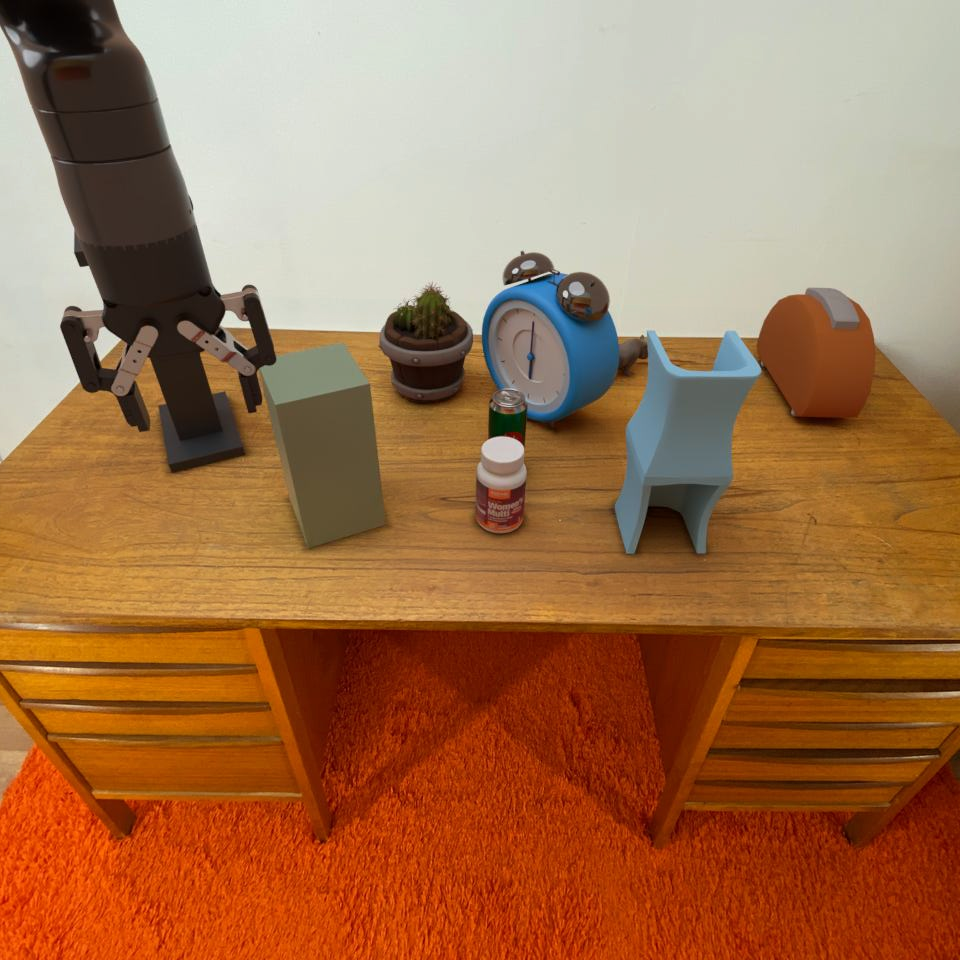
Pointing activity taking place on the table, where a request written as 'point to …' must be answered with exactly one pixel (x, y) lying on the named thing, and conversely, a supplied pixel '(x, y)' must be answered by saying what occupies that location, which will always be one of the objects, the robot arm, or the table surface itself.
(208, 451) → the stand
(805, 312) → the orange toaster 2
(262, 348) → the robot arm
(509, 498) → the pill bottle
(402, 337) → the flowerpot
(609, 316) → the alarm clock
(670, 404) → the blue doll chair
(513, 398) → the soda can
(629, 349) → the rhino figurine
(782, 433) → the table surface
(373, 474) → the green block
